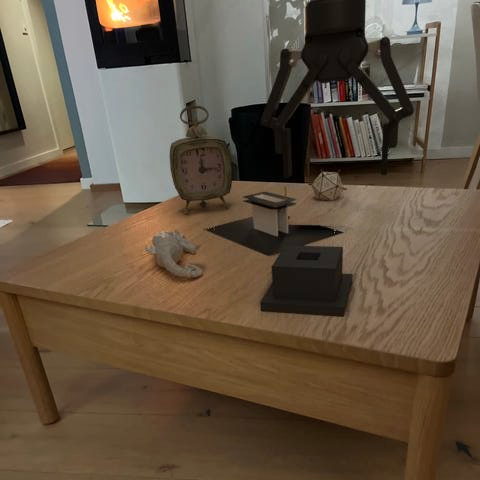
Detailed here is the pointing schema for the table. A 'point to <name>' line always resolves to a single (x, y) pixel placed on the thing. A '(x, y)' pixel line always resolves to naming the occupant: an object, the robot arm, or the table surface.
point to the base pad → (310, 302)
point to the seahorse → (173, 253)
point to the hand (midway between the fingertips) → (334, 175)
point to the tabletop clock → (200, 165)
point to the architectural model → (270, 226)
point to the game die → (327, 185)
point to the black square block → (307, 272)
